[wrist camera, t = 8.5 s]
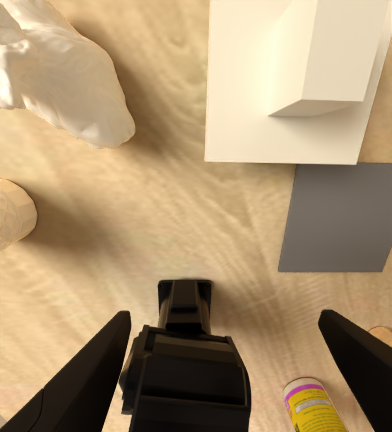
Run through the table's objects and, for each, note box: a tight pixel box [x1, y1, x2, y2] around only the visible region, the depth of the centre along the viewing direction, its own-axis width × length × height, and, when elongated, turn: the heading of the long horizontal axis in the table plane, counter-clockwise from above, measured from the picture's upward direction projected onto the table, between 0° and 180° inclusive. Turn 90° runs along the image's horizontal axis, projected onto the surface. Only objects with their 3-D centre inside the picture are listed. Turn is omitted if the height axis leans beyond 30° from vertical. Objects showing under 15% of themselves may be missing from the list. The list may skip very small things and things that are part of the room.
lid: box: [205, 0, 392, 165], centre depth 10 cm, size 11×11×5 cm
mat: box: [278, 163, 392, 272], centre depth 22 cm, size 13×13×1 cm
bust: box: [0, 0, 135, 149], centre depth 13 cm, size 12×8×11 cm
